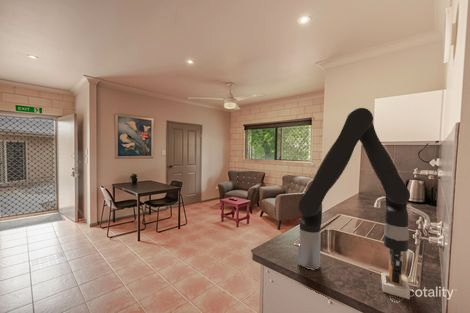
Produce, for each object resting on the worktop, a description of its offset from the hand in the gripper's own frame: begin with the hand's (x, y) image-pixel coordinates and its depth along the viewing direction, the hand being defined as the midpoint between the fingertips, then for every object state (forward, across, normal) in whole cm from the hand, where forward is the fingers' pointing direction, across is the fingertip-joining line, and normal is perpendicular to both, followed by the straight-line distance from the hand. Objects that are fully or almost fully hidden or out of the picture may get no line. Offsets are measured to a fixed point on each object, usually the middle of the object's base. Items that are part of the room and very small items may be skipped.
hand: (394, 278), depth 82 cm
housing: (+4, 0, 0) cm, 4 cm away
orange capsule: (+1, 0, 0) cm, 1 cm away
